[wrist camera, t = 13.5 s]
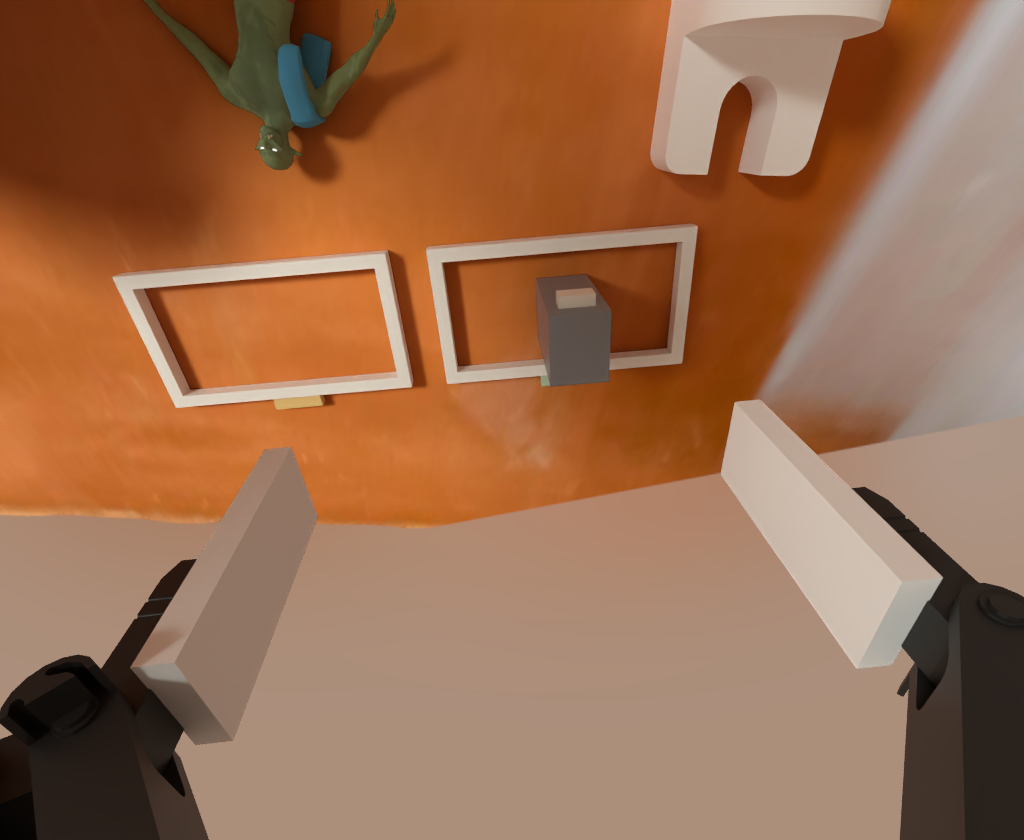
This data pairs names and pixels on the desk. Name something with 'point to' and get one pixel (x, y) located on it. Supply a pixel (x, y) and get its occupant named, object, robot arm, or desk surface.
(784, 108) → the white slotted bracket
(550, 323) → the plug
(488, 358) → the desk surface
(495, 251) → the socket
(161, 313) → the desk surface
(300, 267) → the socket
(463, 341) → the desk surface
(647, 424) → the desk surface
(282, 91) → the figurine
